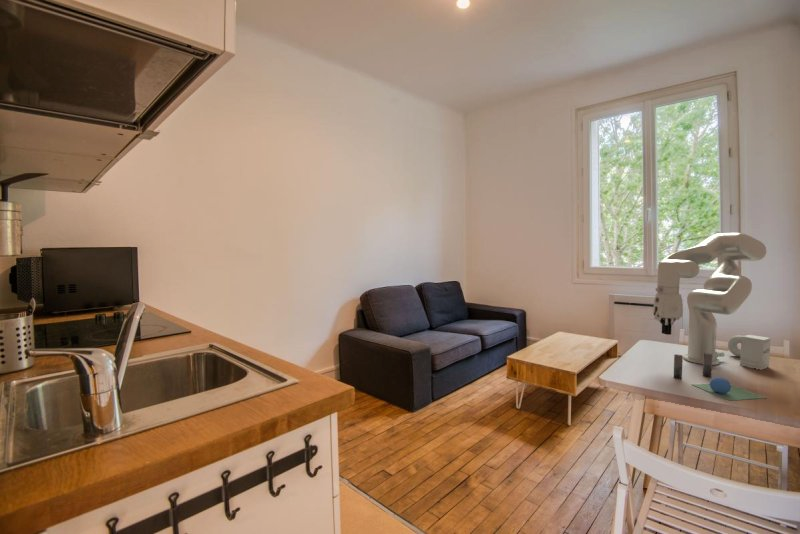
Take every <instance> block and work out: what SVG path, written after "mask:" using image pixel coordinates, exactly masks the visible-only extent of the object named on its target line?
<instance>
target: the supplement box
mask: <svg viewBox="0 0 800 534" xmlns="http://www.w3.org/2000/svg"><path fill="white" fill-rule="evenodd" d="M741 336H742V337H741V343H740V350H741V354H740V357H739V366H741V365H742V366H743V367H745V366H746V368H749V369H754V368H756V369H755V370H758V369H760V370H759V371H762V370H764V369H768V368H769V367H770V357H771V339H772V338H771V337H767V336H759V335H754V334H747V335H741ZM742 366H741V367H742ZM767 367H768V368H767Z"/></svg>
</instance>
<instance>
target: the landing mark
mask: <svg viewBox="0 0 800 534" xmlns="http://www.w3.org/2000/svg"><path fill="white" fill-rule="evenodd" d="M730 385H731V389H730V391H729V392H728V393H725V394H719V393H716V392H715V391H713V390H712V389H711V387H710V383H699V384H698V383H697V384H695V383H694V384H692V386H693V387H696V388H699V390H700V389H701V390H703V391H706V392H707V393H711V394H712V395H715V396H717V397H720V398H722V399H724V400H727V401H731V402H733V401H745V400H759V399H761V400H762V399H763V398H764V399H767V397H765V396H763V395H760V394H758V393H755V392H751V391H749V390H747V389H744V388H741V387H739V386H736V385H733V384H732V383H730Z"/></svg>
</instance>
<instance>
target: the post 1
mask: <svg viewBox="0 0 800 534" xmlns="http://www.w3.org/2000/svg"><path fill="white" fill-rule="evenodd" d="M683 356H684V355H682V354H674V356H673V359H674V360H673V379H675V380H680V381H681V380H682V379H683V360H684V358H683Z"/></svg>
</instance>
